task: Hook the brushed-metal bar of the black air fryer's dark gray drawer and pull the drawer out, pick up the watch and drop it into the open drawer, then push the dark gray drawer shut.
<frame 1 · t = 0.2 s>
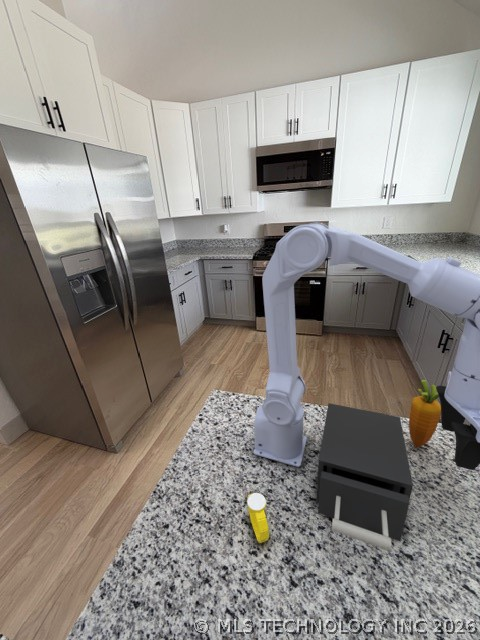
hand: (456, 446, 43), 10 cm above the countertop, tool pointing down, fingers open, 7 cm apart
watch: (258, 530, 42), on the countertop
dark gray drawer: (359, 483, 43), point 5 cm above the countertop, slide at 1.0 cm
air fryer: (357, 478, 49), on the countertop
carrot: (416, 447, 55), on the countertop
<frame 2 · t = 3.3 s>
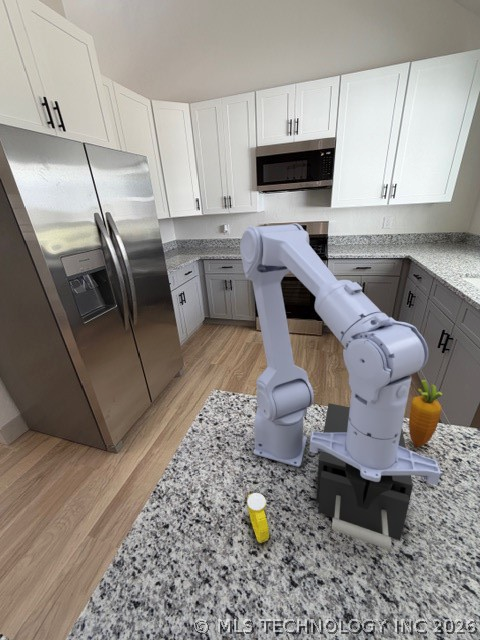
hand: (362, 501, 38), 8 cm above the countertop, tool pointing down, fingers closed
dark gray drawer: (359, 483, 43), point 5 cm above the countertop, slide at 0.9 cm, touching gripper
everything else where it was.
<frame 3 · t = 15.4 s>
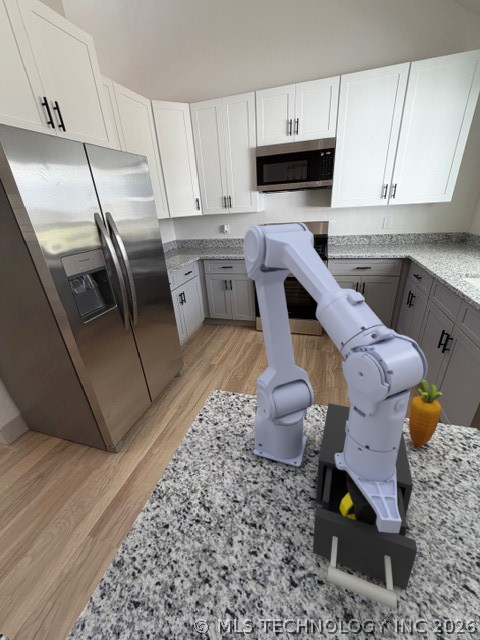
hand: (360, 510, 38), 7 cm above the countertop, tool pointing down, fingers closed on watch, 2 cm apart
watch: (360, 520, 38), point 5 cm above the countertop, touching gripper
dark gray drawer: (359, 519, 38), point 5 cm above the countertop, slide at 6.8 cm
everything else where it was.
when the fingers open (8 cm above the countertop, at t = 21.1 s): watch drops 4 cm, resting on dark gray drawer.
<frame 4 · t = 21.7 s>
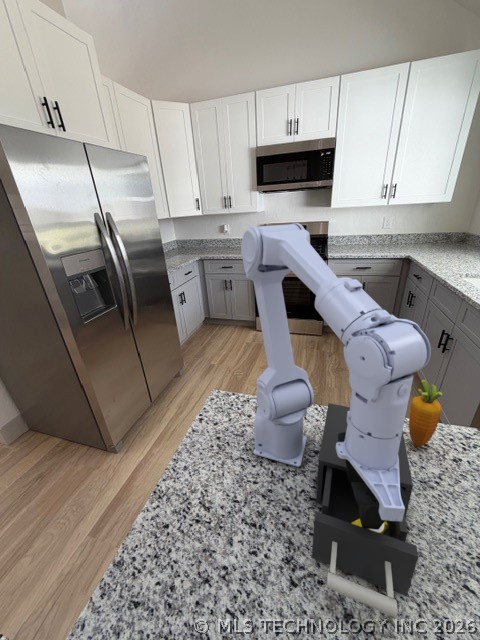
hand: (362, 502, 37), 8 cm above the countertop, tool pointing down, fingers open, 5 cm apart
watch: (359, 537, 39), point 2 cm above the countertop, touching dark gray drawer
dark gray drawer: (359, 523, 38), point 5 cm above the countertop, slide at 7.5 cm, touching gripper, watch
everything else where it was.
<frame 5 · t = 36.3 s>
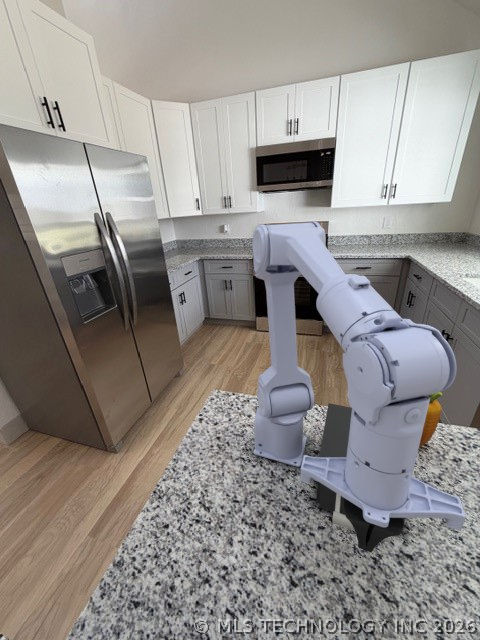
hand: (364, 541, 31), 10 cm above the countertop, tool pointing down, fingers closed
watch: (359, 492, 45), point 2 cm above the countertop, touching dark gray drawer
dark gray drawer: (359, 478, 44), point 5 cm above the countertop, slide at 0.0 cm, touching watch
everything else where it was.
at the end: dark gray drawer pulled out 7.5 cm at the most during the clip, back to where it started at the end; watch inside the target area in the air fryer (4.2 cm from its centre), point 1.8 cm above the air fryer's base; dark gray drawer slide at 0.0 cm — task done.
